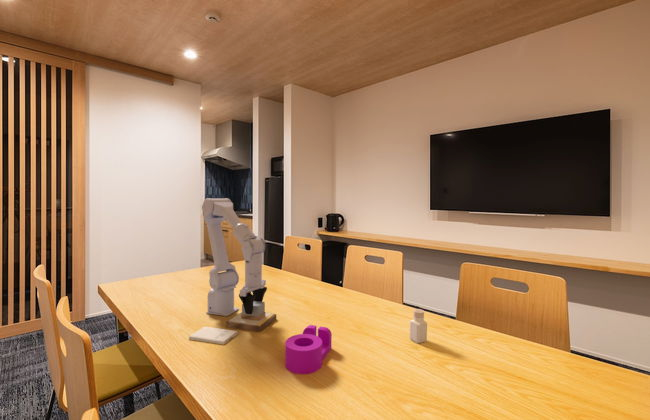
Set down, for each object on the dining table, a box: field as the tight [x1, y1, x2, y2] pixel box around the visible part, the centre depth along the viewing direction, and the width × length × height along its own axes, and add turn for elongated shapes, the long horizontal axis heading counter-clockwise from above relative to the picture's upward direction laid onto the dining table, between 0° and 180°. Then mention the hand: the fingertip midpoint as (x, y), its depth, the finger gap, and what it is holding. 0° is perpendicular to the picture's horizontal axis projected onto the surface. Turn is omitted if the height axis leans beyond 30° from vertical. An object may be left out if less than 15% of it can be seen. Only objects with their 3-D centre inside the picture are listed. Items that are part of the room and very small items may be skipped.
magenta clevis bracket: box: [284, 324, 333, 375], centre depth 89 cm, size 16×10×6 cm, turn 160°
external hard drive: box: [188, 326, 239, 346], centre depth 102 cm, size 2×8×12 cm
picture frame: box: [225, 311, 277, 333], centre depth 114 cm, size 13×12×2 cm
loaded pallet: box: [241, 301, 266, 321], centre depth 113 cm, size 7×5×5 cm, turn 73°
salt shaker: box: [409, 308, 428, 344], centre depth 101 cm, size 4×4×10 cm
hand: (253, 310), depth 113 cm, fingers open, 6 cm apart
